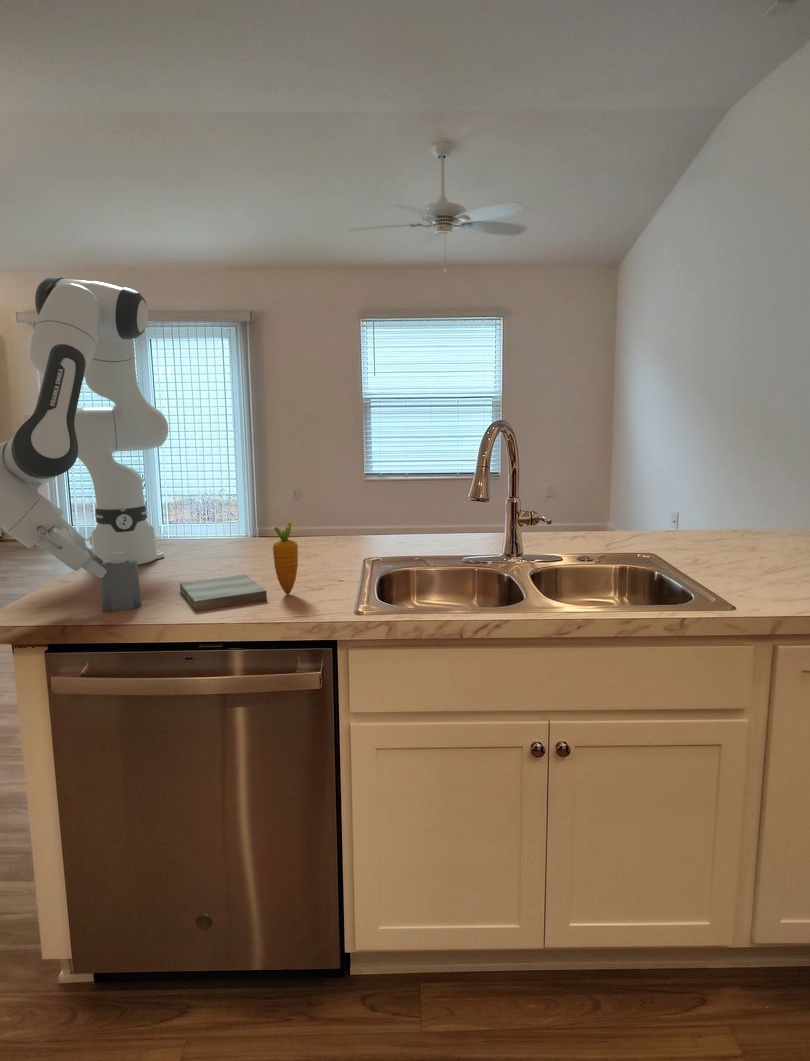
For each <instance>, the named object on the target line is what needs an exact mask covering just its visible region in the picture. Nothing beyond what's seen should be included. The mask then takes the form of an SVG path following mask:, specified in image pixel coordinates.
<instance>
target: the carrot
mask: <svg viewBox="0 0 810 1061" xmlns="http://www.w3.org/2000/svg"><path fill="white" fill-rule="evenodd" d="M292 525H293V523H292V522H289V521H288V523H287V525H286V527H285V529H284V530H282V531H281V530H280V528H279V526H274V527H273V529H274V531H275V532H276V534H277V535H278V537H279V539H280V540H278V541H275V543H274V544H273V547H272V551H273V563H274V569H275V574H276V576H277V580H278V582H279V585H280V587H281V590H283V592H284V594H285V595H288V594H289V595H290V593H292V590H293V588H294V586H295V582H296V580H297V573H298V567H299V566H298V565H299V562H298V561H299V558H298V557H299V554H298V553H299V551H298V549H299V547H298V543H297V542H296V541H295V540H292V539H289V537H290V535H291V532H292V531H291V530H292ZM289 595H288V596H289Z"/></svg>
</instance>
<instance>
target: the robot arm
mask: <svg viewBox="0 0 810 1061" xmlns="http://www.w3.org/2000/svg"><path fill="white" fill-rule="evenodd" d="M34 304H35V309H36V313H37V316H38V317H37V319H36V321H35V325H34V327H33V328H34V329H33V333H32V336H31V340H30V350H29V351H30V353H29V359H30V361H31V363H32V365H33V366H34V367H35V369H36V370H37V371H38V372H40V373H41V374H42V379H41V384H40V387H39V391H38V394H37V399H36V404H35V407H34V411H33V413H32V414H31V416H30V417H29V418H28V419H27V420H26V421H24V422H23V423H22V424H21V426H20V427H19V428H18V429H17V431H16V432H15V434H14V435H13V436H12V437H11V438H10V439H9V440H5V441H3V442H0V528H1V530H3V532H4V533H6V534H8V535H9V536H11V537H12V538H13V539H15V540H16V541H18V542H19V543H20V544H22V545H23V546H24V547H26V548H28V549H32V548H33V547H34V546H35V545H36V546H37V547H39V548H41V549H44V550H46V551H47V552H48V553H50V555H52V556H53V557H55V558H56V559H57V560H59V561H60V562H62V563H63V564H64V565H66V567H69V568H70V569H72V570H73V571H80V569H83V570H85V571H87V572H89V573H91V574H92V575H94V576H96V577H98V578H99V579H100V578H102V577H103V576H104V575H105V574H106V573H107V571H106V569H105V568H104V567H102V566H101V565H99V564H102V563H108V562H111V557H110V553H115V552H124V557H125V561H126V560H137V562H138V565H142V564H143V565H144V564H146V563H150V562H152V561H156V560H158V559H162V558H165V553H164V552H162V551H160V550H157V549H158V548H157V540H156V533H155V527H154V526H153V525H152V524H150V523H149V522H148V520H147V519H148V510H147V506H146V504H144V501H145V499H144V492H143V491H144V490H143V489H144V488H143V479H142V477H141V475H140V473H139V472H138V471H137V470H135V469H133V468H132V467H130V466H128V465H125V464H122V463H118V461H116V460H115V459H114V456H113V454H114V453H116V452H136V451H138V452H139V451H146V450H147V451H148V450H151V449H156V448H159V447H162V446H163V444H165V442H166V440H167V438H168V435H169V424H168V421H167V417H165V415H164V414H163V413H162V411H160V410H159V409H158V408H156V407H154V406H153V405H152V404H150V403H149V402H148V401H147V400H146V398H145V397H144V396H143V394H142V392H141V390H140V387H139V385H138V379H137V369H136V355H135V354H136V352H135V351H136V350H135V342H134V341H135V340H134V339H137V338H138V337H140V336H141V335H143V334H144V332H145V329H146V326H147V324H148V320H149V318H148V317H149V313H148V306H147V302H146V299H145V298H144V296H142V294H141V292H139V291H137V290H134V289H132V288H129V287H125V286H124V287H120V286H117V285H113V284H110V283H106V282H102V281H97V280H92V281H90V280H84V279H83V280H82V279H74V278H73V279H70V278H67V279H66V278H64V277H61V276H60V277H57V276H53V277H46V278H45V279H44V280H42V281H41V282H40V283H39V284H38V286H37V288H36V291H35V300H34ZM84 380H85V383H86V386H87V387H88V388H89V390H91V392H93V393H95V394H96V395H98V396H101V397H102V398H105V399H107V400H109V401H111V402H113V403H114V404H115V405H114V406H90V407H84V406H83V407H78V403H79V399H80V396H81V395H80V394H81V390H82V385H83V381H84ZM77 459H79V461H81V463H83V465H84V466H85V468H86V469H87V472H89V475H90V478H91V481H92V484H93V490H94V496H95V504H96V508H95V509H94V510H95V513H94V517H95V522H96V523H97V524H96V526H95V528H94V529H92V531H91V532H90V534H91V535H89V539H88V540H89V546H91V547H90V548H89V547H88V546H87V542H86V539H85V538H84V537H83V536H82V535H81V534H80V533H79V532H78V531H77V530H76V529H75V528H74V527H73V526H72V525H71V524H69V523H68V521H66V520H65V519H64V517H63V518H62V517H61V516H62V515H63V513H64V510H62V509H61V508H60V507H58V506H57V505H55V504H54V503H53V502H51V501H50V499H48V498H46V497H45V496H44V495H42V494H41V493H40V492H39V488H40V487H42V486H44V485H46V484H47V483H49V482H51V481H52V480H53V479H56V477H58V476H61V475H63V474H64V473H66V472H67V471H69V470H70V469H72V467H73V466H74V465H75V463H76V461H77Z"/></svg>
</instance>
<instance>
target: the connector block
mask: <svg viewBox="0 0 810 1061" xmlns="http://www.w3.org/2000/svg"><path fill="white" fill-rule="evenodd" d="M110 557H111V562H108V563H102V564H99V565H101V566H102V567H104V568H105V569H106V571H107V573H106V574H105V575H104V576H103V577H102V578H99V585H100V595H101V605H102V611H103V612H105V611H110V612H117V611H123V610H132V609H136V608H137V609H138V608H140V607H142V597H141V596H142V595H141V585H140V574H139V573H140V572H139V564H138V562H137V560H126V561H125V557H124V552H115V553H110ZM116 610H117V611H116Z"/></svg>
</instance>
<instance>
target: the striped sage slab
mask: <svg viewBox="0 0 810 1061" xmlns="http://www.w3.org/2000/svg"><path fill="white" fill-rule="evenodd" d="M179 588H180V590H179V591H181V592H182V593H181V592H180V593H181V595H182V596H183V595H184V596H185V597H184V596H183V597H184V598H185V599H187V600H188V601H187V600H186V601H187V602H188V604H189V603H190V604H191V605H190V604H189V605H190V606H191V607H193V608H194V609H193V608H192V609H193V611H194V612H198V611H197V610H200V611H205V610H204V609H207V610H212V609H211V608H214V609H218V607H220V608H225V607H224V606H227V607H231V606H230V605H233V606H238V605H237V604H240V605H244V604H243V603H247V604H251V603H259V601H260V602H265V600H267V601H268V599H267V598H268V597H267V596H268V595H267V590H266V589H265V588H263V586H261V585H259V583H257V582H256V581H255V580H253V579H252V578H251V577H250V576H249V575H247V574H246V573H245V574H244V573H243V574H238V575H237V574H236V575H229V576H221V577H212V578H207V579H200V580H191V581H183V582H182V581H181V582H179Z"/></svg>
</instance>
